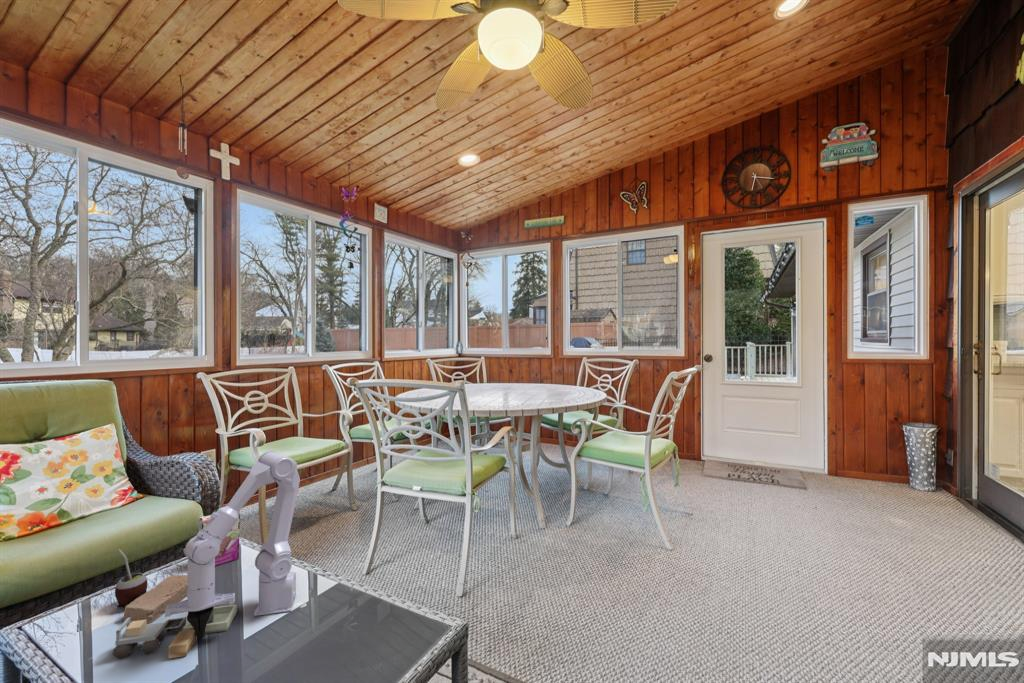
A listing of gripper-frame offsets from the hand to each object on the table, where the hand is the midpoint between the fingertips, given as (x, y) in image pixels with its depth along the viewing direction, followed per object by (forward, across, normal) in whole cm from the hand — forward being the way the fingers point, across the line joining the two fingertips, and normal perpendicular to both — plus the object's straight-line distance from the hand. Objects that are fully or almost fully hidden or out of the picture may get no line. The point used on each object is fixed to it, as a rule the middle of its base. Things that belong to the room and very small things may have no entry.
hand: (200, 636), depth 113 cm
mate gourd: (+1, +22, -24) cm, 33 cm away
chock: (+1, +3, +2) cm, 4 cm away
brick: (+2, +13, -21) cm, 25 cm away
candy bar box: (+1, +3, -42) cm, 42 cm away
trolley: (+1, +13, -2) cm, 13 cm away
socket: (+1, +7, -7) cm, 10 cm away
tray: (+1, -1, -6) cm, 7 cm away
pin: (0, 0, -7) cm, 7 cm away
